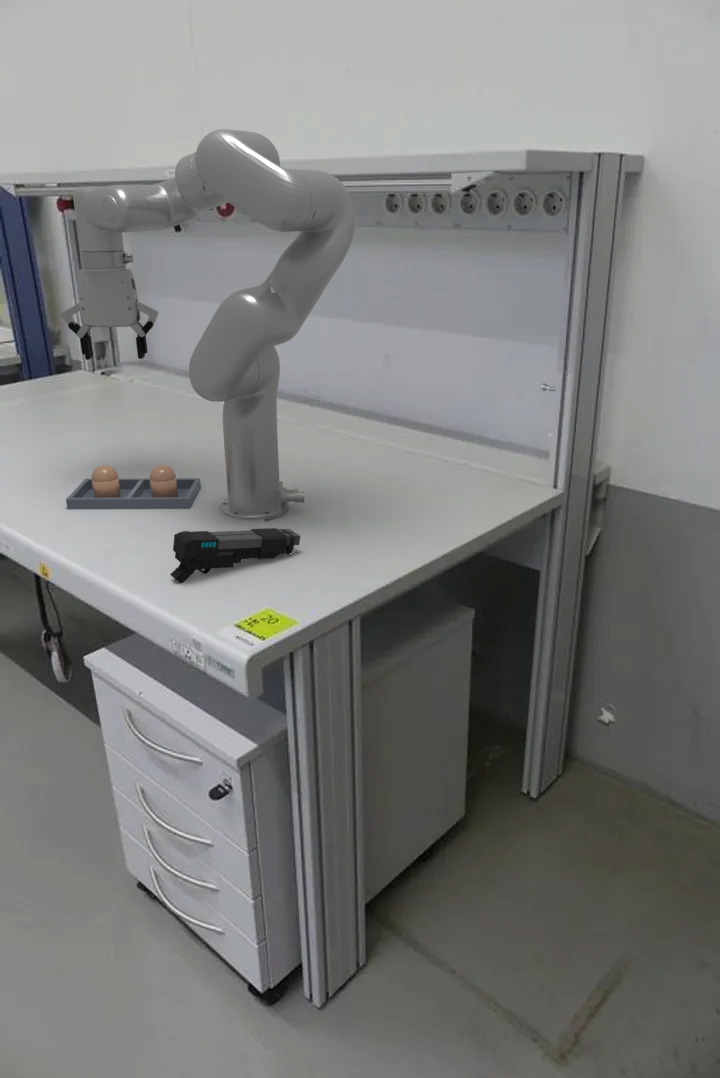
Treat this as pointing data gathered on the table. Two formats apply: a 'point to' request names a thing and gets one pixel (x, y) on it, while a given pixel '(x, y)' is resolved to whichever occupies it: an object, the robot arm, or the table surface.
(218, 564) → the gun
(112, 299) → the robot arm
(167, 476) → the seated egg
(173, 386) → the table surface
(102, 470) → the egg
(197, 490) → the divided grey tray
